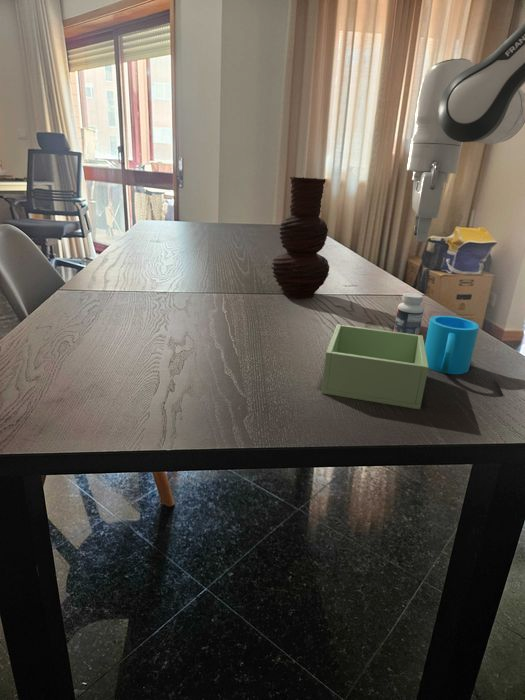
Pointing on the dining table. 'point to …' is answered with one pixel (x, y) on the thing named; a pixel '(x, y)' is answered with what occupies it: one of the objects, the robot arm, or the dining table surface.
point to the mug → (450, 344)
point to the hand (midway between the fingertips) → (419, 238)
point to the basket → (376, 366)
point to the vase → (302, 241)
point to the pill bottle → (409, 314)
